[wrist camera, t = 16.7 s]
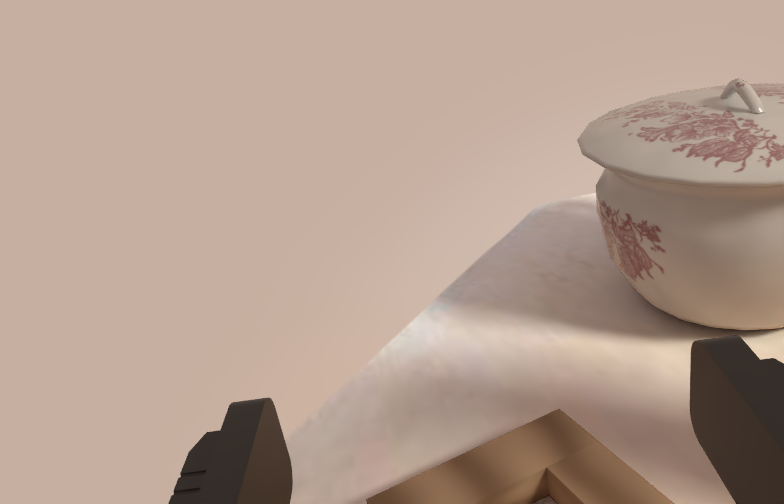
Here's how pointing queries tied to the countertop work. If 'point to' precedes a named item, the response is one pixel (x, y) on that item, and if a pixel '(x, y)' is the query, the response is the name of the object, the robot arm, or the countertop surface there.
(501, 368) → the countertop surface
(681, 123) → the chamber pot
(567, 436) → the socket board
